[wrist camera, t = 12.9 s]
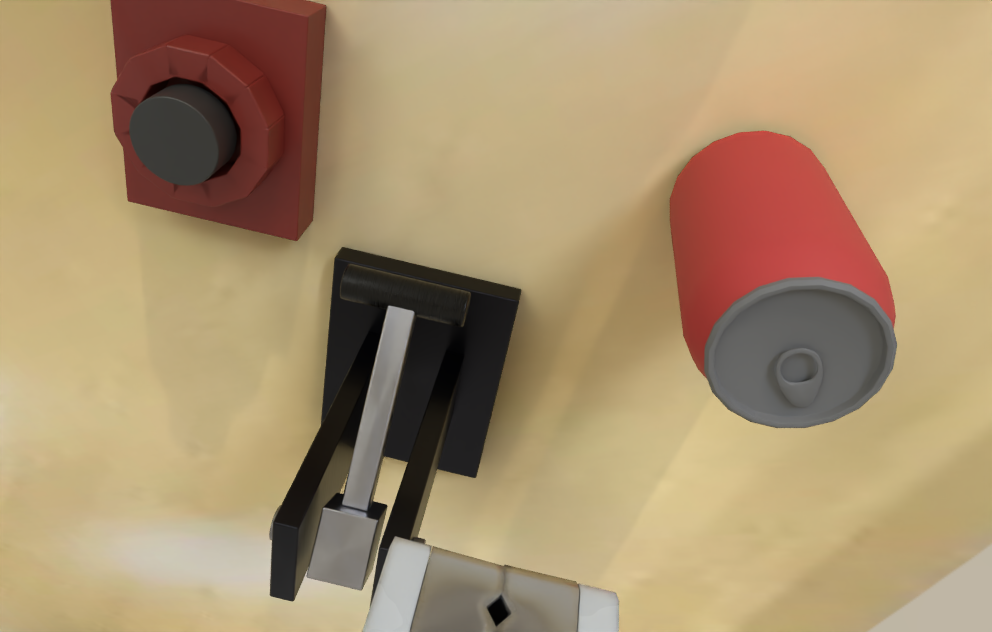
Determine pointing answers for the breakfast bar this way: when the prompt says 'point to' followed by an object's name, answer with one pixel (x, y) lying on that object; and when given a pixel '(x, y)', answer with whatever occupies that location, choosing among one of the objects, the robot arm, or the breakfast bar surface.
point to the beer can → (778, 284)
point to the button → (183, 134)
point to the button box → (229, 102)
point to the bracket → (397, 409)
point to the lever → (376, 419)
